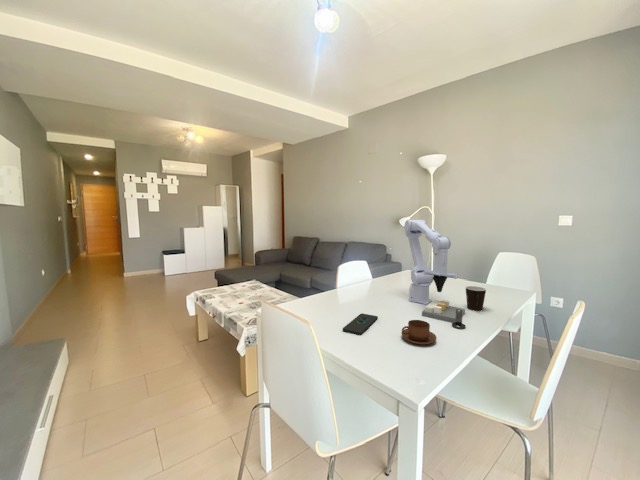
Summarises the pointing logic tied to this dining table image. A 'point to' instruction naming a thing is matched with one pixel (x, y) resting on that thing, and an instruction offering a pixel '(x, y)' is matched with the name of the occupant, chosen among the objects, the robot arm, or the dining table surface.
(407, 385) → the dining table surface
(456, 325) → the black door knob
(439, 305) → the block
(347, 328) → the smart home device
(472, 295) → the coffee mug
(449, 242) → the robot arm
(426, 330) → the cup and saucer
